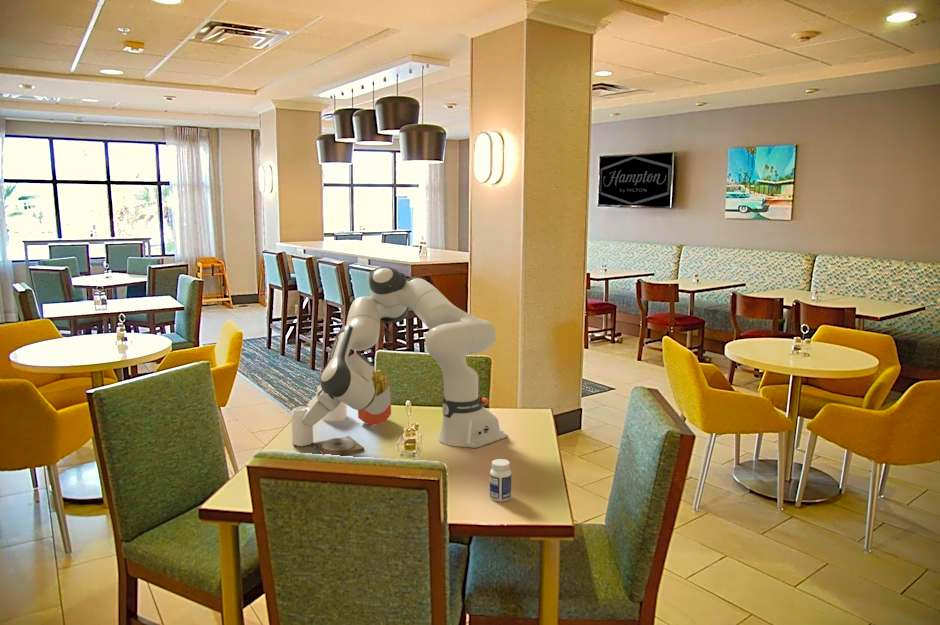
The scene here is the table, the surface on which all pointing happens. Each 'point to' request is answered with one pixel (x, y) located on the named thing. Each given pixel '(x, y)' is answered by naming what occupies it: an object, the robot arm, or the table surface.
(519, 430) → the table surface
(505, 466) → the pill bottle
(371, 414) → the french fries container
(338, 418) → the base with upright slab
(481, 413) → the robot arm
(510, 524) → the table surface
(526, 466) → the table surface
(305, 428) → the can
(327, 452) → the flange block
